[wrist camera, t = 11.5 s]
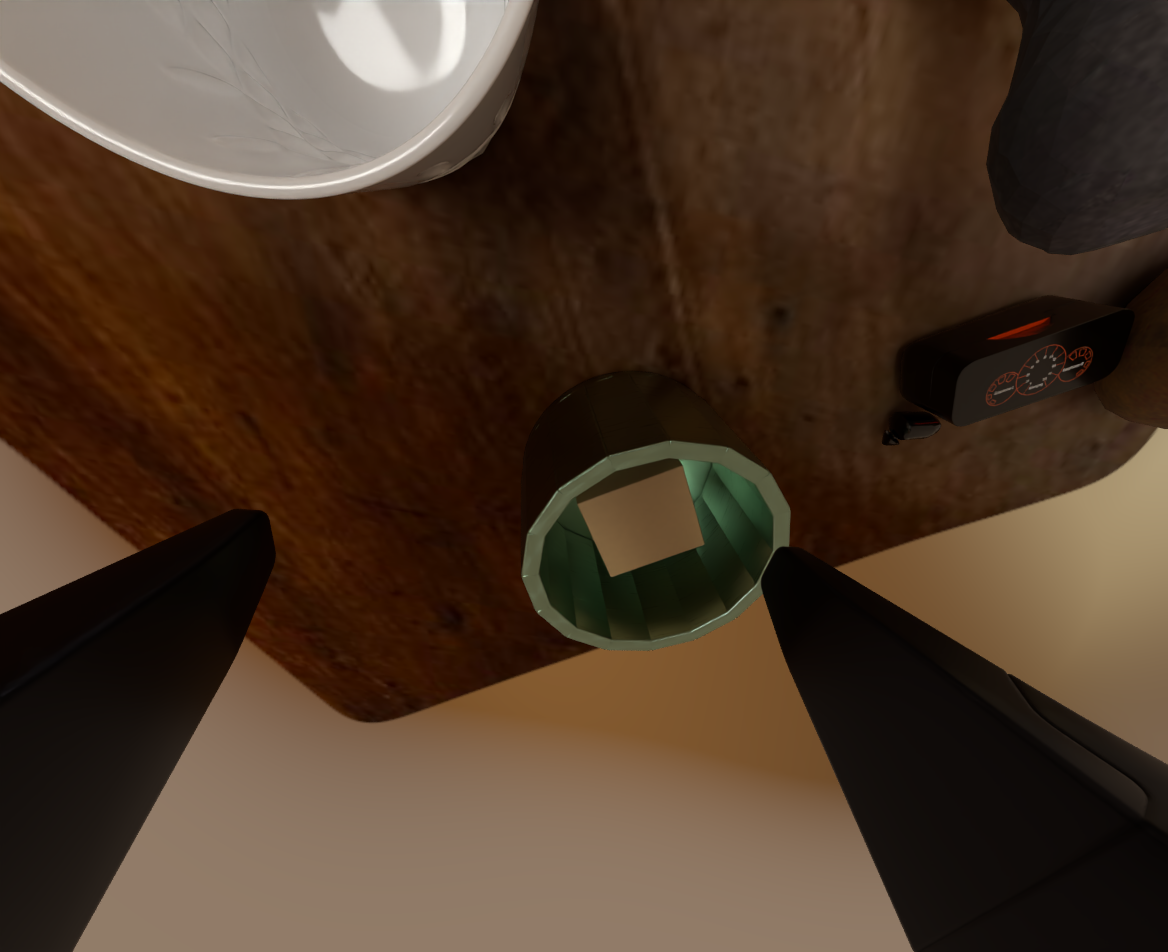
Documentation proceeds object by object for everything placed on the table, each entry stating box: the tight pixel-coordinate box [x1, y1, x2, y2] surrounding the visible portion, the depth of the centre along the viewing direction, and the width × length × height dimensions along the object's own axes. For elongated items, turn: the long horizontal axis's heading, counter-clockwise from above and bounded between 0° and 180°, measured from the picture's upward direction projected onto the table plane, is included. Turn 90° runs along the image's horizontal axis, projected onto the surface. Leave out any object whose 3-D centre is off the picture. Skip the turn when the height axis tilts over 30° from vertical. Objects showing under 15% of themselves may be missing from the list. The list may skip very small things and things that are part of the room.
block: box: [576, 458, 705, 577], centre depth 19 cm, size 4×4×4 cm
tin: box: [521, 371, 790, 651], centre depth 18 cm, size 9×9×6 cm
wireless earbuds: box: [882, 295, 1135, 446], centre depth 18 cm, size 5×7×3 cm, turn 109°
